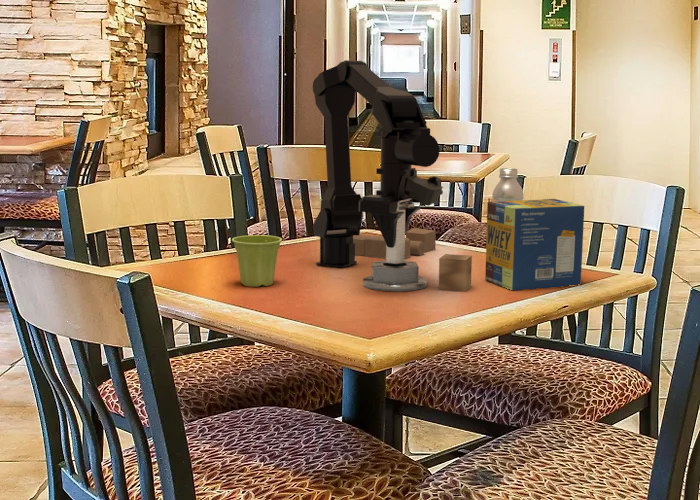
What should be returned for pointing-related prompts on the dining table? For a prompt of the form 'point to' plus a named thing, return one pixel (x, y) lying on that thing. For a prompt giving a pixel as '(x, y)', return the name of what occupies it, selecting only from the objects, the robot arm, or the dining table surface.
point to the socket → (395, 277)
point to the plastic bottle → (508, 186)
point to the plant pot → (257, 258)
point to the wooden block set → (414, 244)
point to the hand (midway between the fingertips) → (395, 246)
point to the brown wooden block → (455, 272)
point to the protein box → (534, 243)
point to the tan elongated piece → (398, 243)
